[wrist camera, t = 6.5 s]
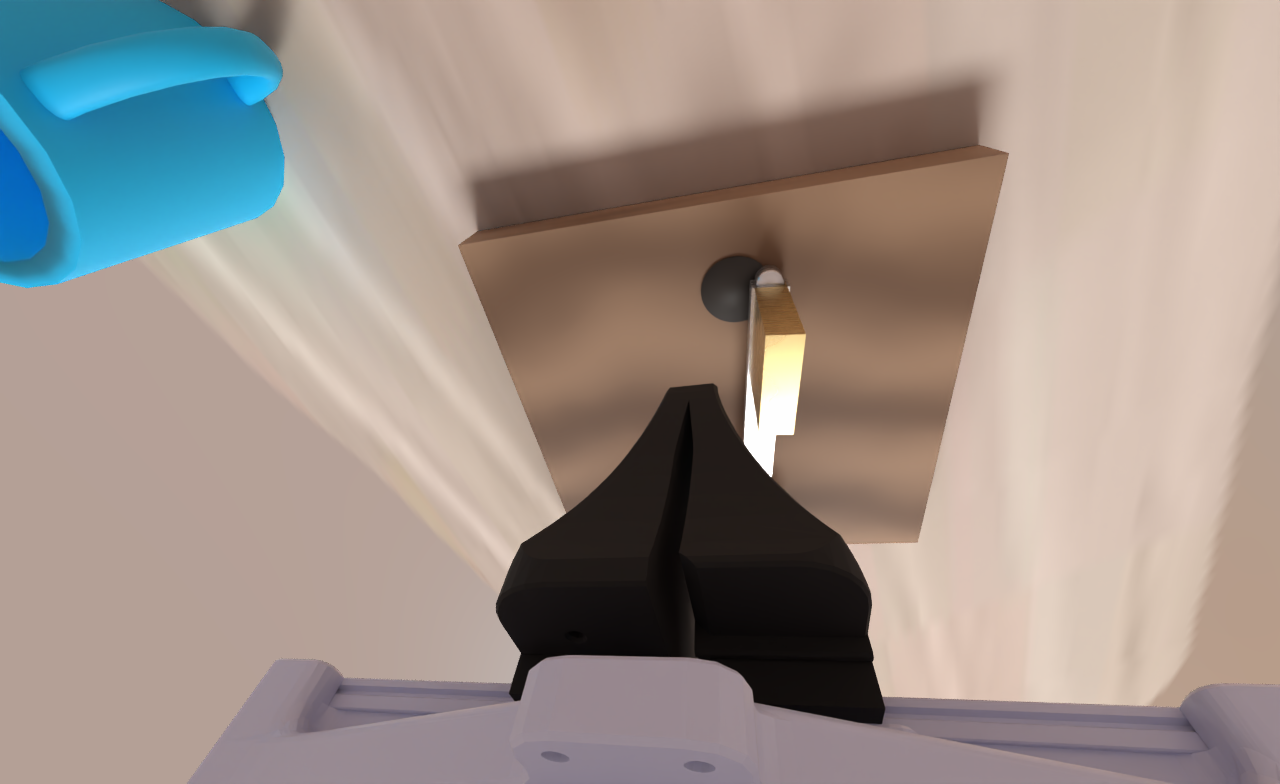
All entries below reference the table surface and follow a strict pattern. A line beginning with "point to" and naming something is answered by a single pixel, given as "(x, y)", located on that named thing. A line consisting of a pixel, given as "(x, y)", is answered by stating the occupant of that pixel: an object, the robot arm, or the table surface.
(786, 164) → the table surface
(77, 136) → the mug
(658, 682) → the robot arm
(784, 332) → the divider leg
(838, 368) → the hole plate
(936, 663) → the table surface
